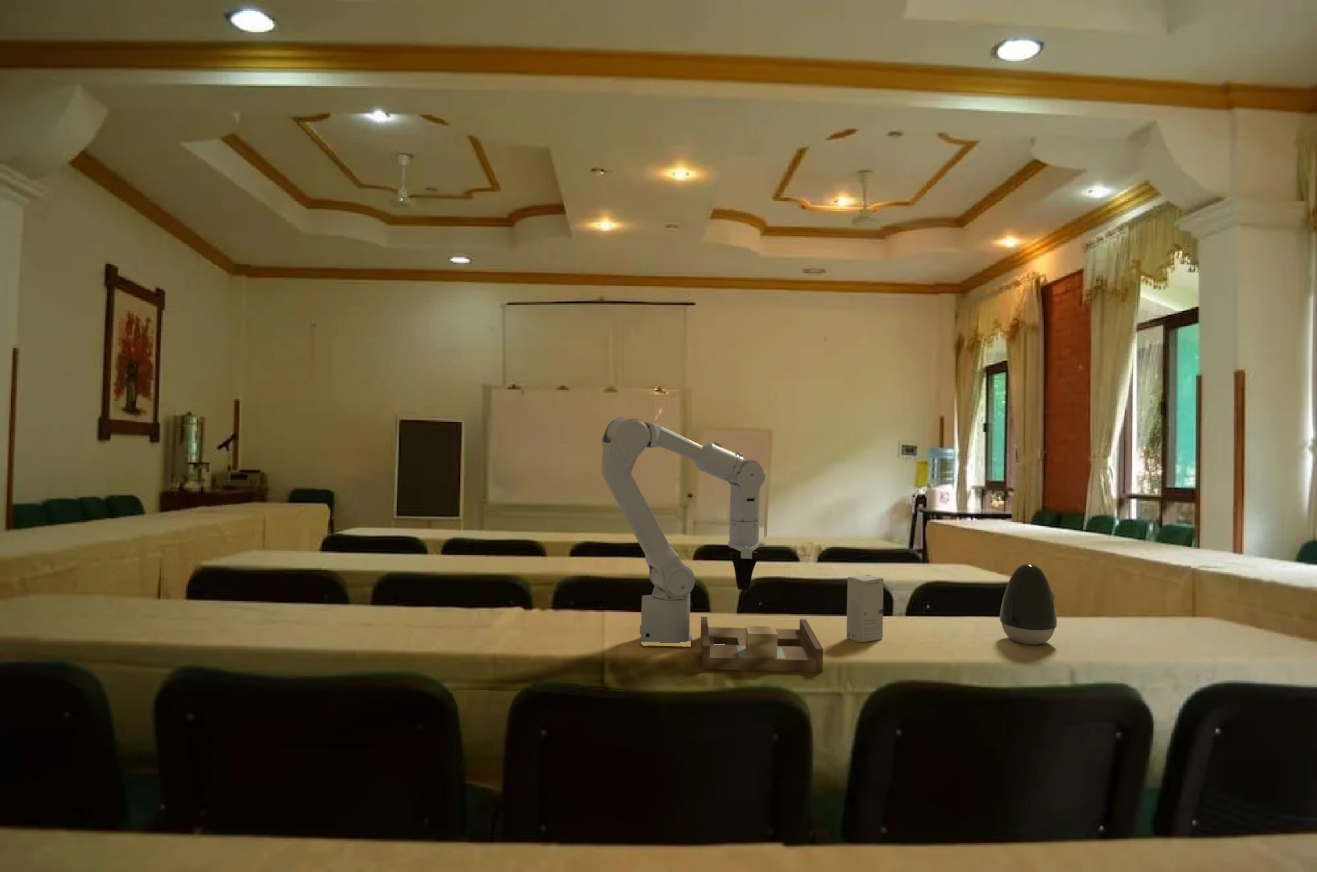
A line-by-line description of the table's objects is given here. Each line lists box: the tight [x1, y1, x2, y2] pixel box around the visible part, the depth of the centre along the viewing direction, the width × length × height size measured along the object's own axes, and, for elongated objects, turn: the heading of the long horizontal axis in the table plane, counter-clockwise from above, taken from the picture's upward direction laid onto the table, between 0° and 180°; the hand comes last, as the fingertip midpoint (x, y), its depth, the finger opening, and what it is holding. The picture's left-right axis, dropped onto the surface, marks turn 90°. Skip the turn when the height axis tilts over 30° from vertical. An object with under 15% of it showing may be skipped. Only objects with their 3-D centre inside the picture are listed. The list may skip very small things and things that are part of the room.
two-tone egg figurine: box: [999, 563, 1058, 646], centre depth 160 cm, size 10×10×15 cm
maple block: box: [745, 625, 778, 657], centre depth 142 cm, size 5×5×4 cm
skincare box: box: [846, 574, 884, 643], centre depth 160 cm, size 6×4×12 cm
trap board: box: [700, 616, 824, 673], centre depth 149 cm, size 20×20×4 cm
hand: (743, 589), depth 159 cm, fingers closed
